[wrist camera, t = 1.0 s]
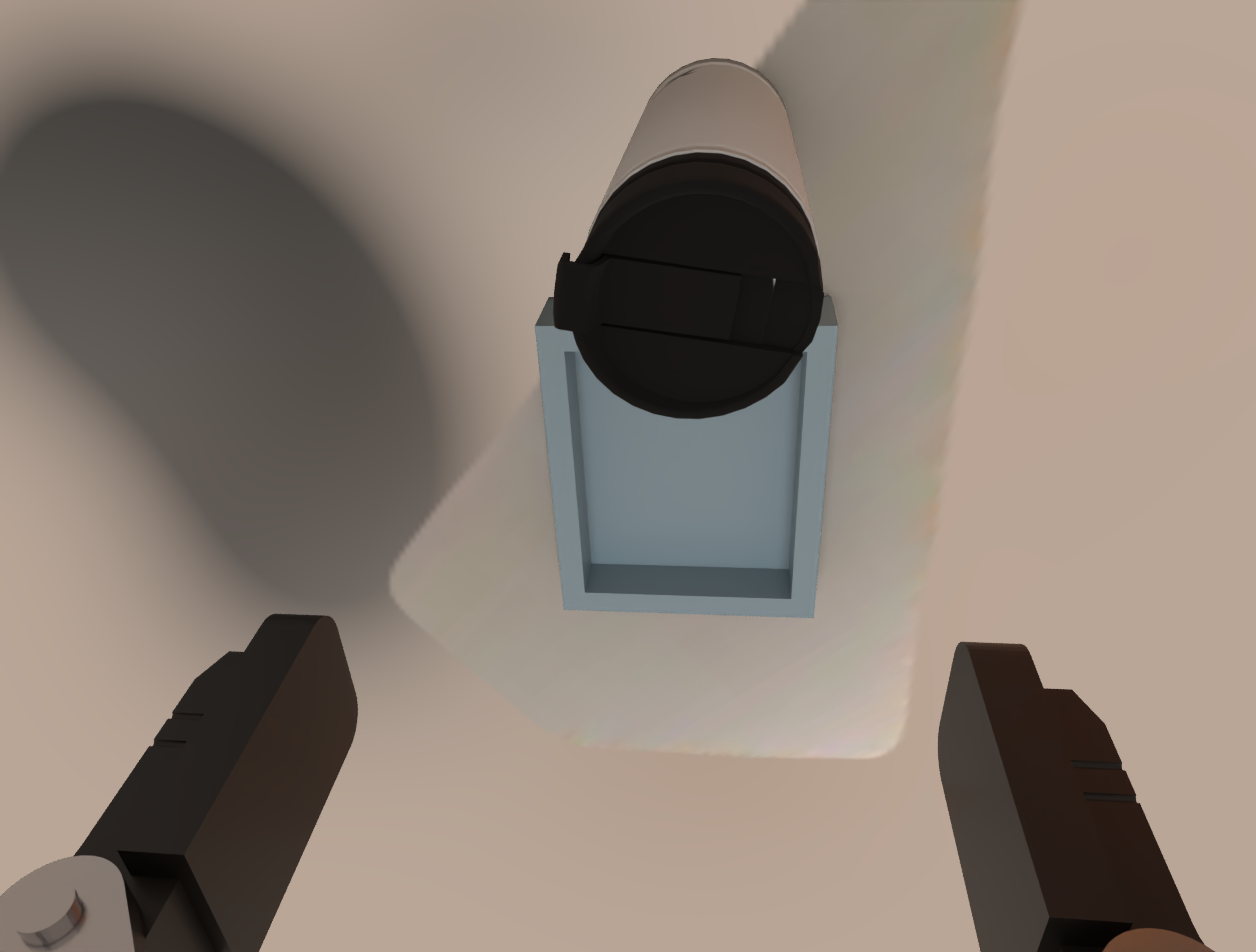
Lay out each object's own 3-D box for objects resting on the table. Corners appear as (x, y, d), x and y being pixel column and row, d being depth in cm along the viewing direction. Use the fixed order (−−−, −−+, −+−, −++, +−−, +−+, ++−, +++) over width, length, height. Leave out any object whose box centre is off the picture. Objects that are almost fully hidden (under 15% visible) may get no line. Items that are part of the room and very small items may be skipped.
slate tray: (548, 297, 43) (534, 326, 40) (830, 296, 41) (837, 325, 39) (573, 569, 51) (564, 609, 48) (809, 576, 50) (813, 618, 47)
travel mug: (642, 44, 37) (562, 159, 20) (804, 70, 37) (862, 207, 20) (623, 199, 40) (539, 411, 23) (772, 223, 40) (796, 452, 23)
